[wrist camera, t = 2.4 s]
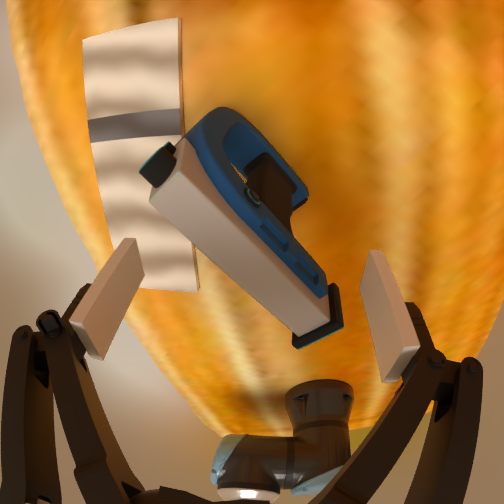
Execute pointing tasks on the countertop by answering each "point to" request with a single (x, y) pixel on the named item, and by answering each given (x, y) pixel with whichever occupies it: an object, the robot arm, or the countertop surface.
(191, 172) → the handheld scanner
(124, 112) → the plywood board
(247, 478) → the robot arm
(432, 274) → the countertop surface
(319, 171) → the countertop surface
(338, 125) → the countertop surface
